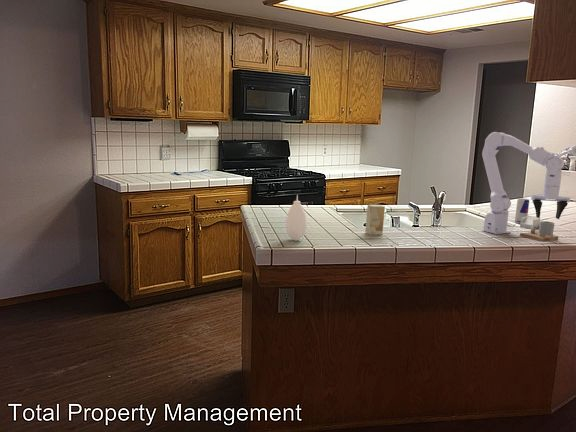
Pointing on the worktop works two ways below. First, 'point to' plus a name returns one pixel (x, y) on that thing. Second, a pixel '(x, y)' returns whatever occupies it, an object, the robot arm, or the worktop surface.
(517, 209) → the energy drink
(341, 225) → the worktop surface
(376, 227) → the skincare box
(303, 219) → the sauce bottle
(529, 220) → the feeder chute
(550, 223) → the sleeve
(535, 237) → the pin block
